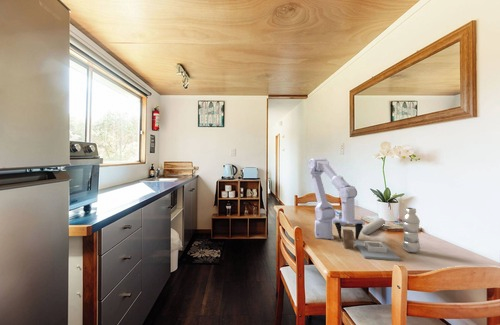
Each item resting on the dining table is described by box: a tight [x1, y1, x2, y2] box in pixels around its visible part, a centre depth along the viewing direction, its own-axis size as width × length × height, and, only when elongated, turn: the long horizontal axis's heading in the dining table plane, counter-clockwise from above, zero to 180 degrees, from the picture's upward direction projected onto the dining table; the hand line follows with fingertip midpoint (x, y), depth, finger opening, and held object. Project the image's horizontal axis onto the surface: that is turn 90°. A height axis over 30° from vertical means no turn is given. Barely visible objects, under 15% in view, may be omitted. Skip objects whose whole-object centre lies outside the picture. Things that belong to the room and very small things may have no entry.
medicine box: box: [334, 209, 346, 227], centre depth 144 cm, size 8×4×9 cm, turn 5°
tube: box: [360, 217, 386, 236], centre depth 132 cm, size 5×5×25 cm
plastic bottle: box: [401, 207, 421, 254], centre depth 101 cm, size 6×7×20 cm
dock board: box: [354, 240, 402, 262], centre depth 103 cm, size 14×18×3 cm
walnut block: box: [342, 228, 355, 250], centre depth 108 cm, size 4×4×8 cm
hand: (348, 238), depth 108 cm, fingers open, 7 cm apart
